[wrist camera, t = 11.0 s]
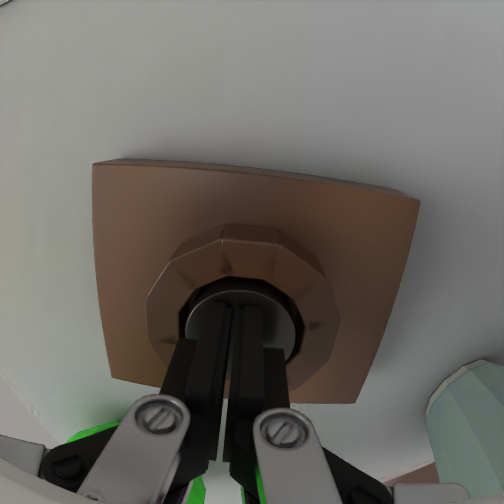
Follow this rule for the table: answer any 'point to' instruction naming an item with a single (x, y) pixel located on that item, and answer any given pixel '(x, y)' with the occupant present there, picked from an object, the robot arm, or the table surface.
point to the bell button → (236, 297)
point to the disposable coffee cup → (469, 428)
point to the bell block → (247, 262)
